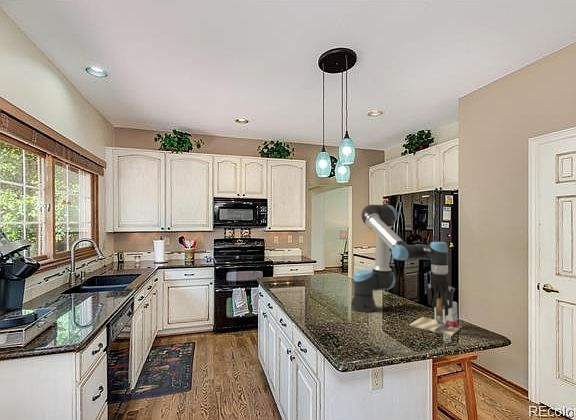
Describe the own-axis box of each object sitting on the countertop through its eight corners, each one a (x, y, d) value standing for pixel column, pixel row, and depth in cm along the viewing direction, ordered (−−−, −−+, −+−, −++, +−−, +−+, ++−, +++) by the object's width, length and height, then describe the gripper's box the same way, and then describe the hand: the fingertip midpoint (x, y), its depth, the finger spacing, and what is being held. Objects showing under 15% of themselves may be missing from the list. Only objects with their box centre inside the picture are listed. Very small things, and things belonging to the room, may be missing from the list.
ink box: (458, 325, 155) (458, 302, 155) (453, 327, 152) (452, 303, 152) (441, 320, 162) (441, 298, 162) (436, 322, 159) (436, 299, 159)
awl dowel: (435, 323, 149) (435, 298, 149) (438, 321, 151) (437, 297, 152) (442, 324, 146) (442, 299, 147) (445, 323, 149) (444, 298, 149)
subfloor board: (409, 325, 156) (409, 324, 156) (422, 318, 169) (422, 316, 169) (452, 336, 142) (451, 334, 142) (462, 327, 155) (462, 325, 155)
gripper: (420, 272, 153) (420, 319, 152) (455, 276, 142) (456, 326, 141) (425, 270, 158) (426, 315, 157) (459, 274, 147) (461, 323, 146)
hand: (440, 320), depth 149 cm, fingers closed on awl dowel, 3 cm apart
